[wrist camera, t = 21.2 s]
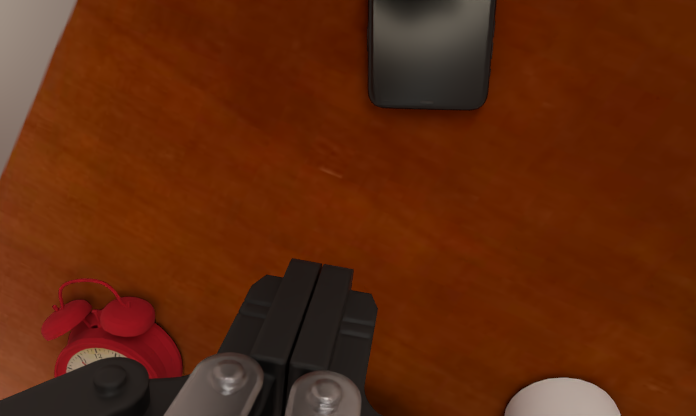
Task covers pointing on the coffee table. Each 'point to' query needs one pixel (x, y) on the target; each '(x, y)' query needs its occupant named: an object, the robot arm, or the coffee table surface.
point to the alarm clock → (112, 334)
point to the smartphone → (430, 53)
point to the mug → (562, 399)
